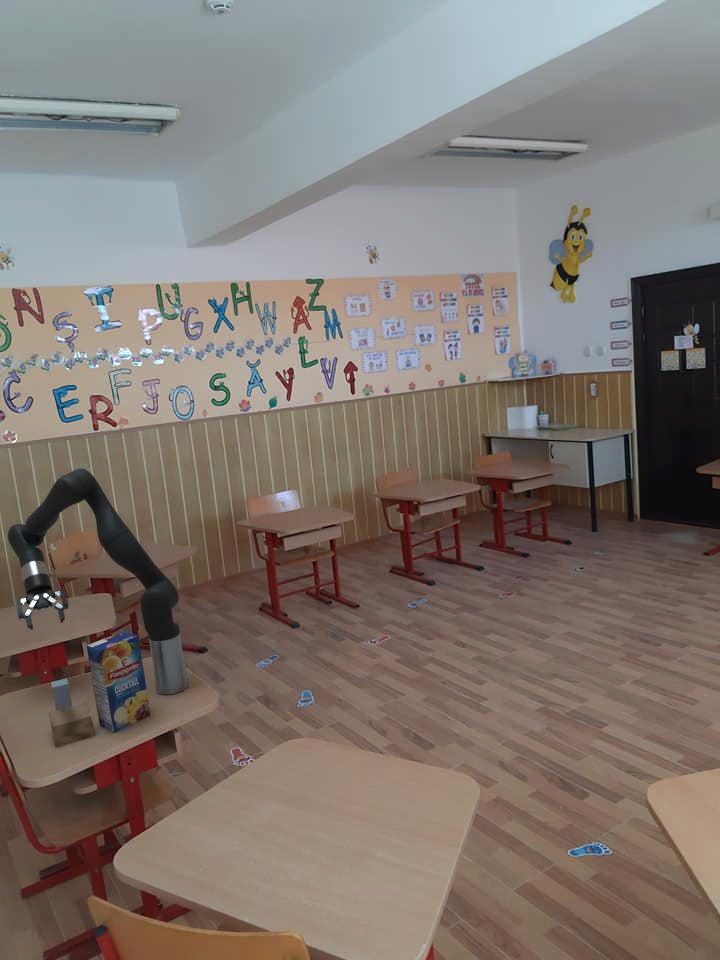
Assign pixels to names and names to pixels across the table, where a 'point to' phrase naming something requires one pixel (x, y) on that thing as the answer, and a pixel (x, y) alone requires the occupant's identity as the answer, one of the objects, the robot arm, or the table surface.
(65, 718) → the walnut block
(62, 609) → the robot arm
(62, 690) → the slate column
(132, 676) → the juice carton
